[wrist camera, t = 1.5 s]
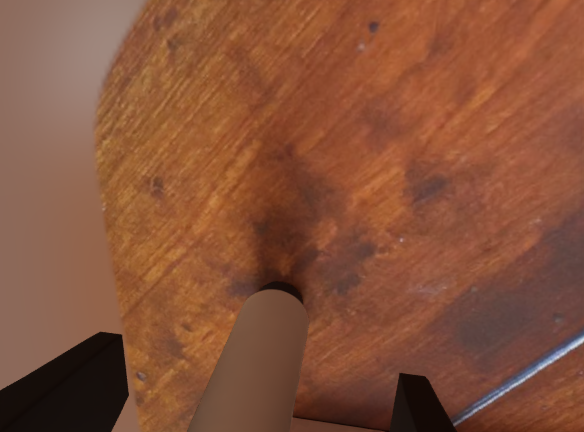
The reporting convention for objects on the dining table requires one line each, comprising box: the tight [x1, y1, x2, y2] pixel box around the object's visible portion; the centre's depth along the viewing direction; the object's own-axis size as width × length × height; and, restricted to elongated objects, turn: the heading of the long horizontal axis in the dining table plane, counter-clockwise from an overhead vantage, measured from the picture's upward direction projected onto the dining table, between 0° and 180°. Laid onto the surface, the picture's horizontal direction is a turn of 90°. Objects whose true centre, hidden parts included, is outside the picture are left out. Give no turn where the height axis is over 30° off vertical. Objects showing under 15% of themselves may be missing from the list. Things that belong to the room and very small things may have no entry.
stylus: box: [187, 282, 309, 432], centre depth 11 cm, size 2×2×9 cm
